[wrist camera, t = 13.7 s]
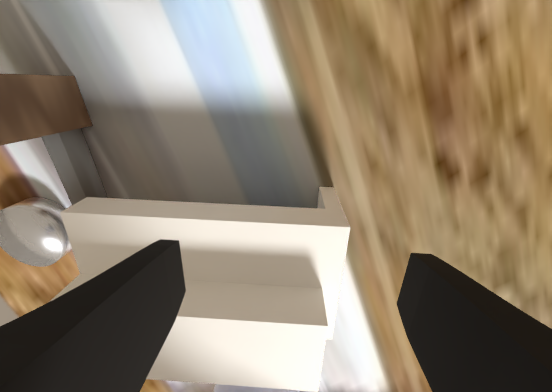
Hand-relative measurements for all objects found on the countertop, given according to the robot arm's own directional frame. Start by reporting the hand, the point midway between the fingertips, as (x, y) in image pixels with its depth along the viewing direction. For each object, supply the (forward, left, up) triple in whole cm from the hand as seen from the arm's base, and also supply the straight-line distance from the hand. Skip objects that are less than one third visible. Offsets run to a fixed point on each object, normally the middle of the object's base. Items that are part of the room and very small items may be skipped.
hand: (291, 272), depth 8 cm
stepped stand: (-5, +5, -10) cm, 13 cm away
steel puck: (-5, +19, -11) cm, 22 cm away
